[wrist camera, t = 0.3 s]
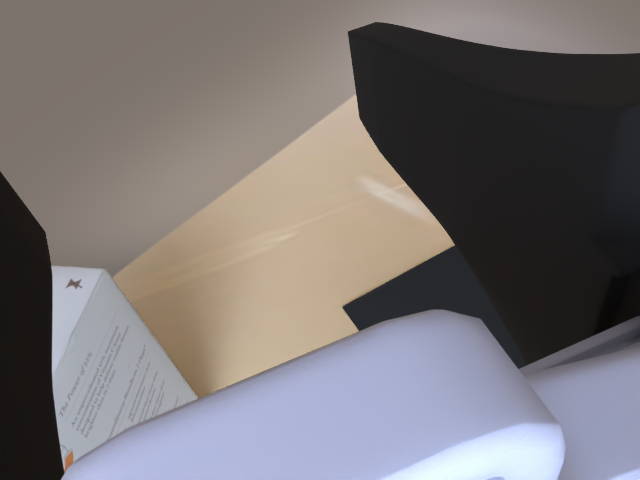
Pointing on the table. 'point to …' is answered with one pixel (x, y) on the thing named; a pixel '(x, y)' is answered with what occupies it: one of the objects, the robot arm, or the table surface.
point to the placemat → (434, 298)
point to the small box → (104, 363)
